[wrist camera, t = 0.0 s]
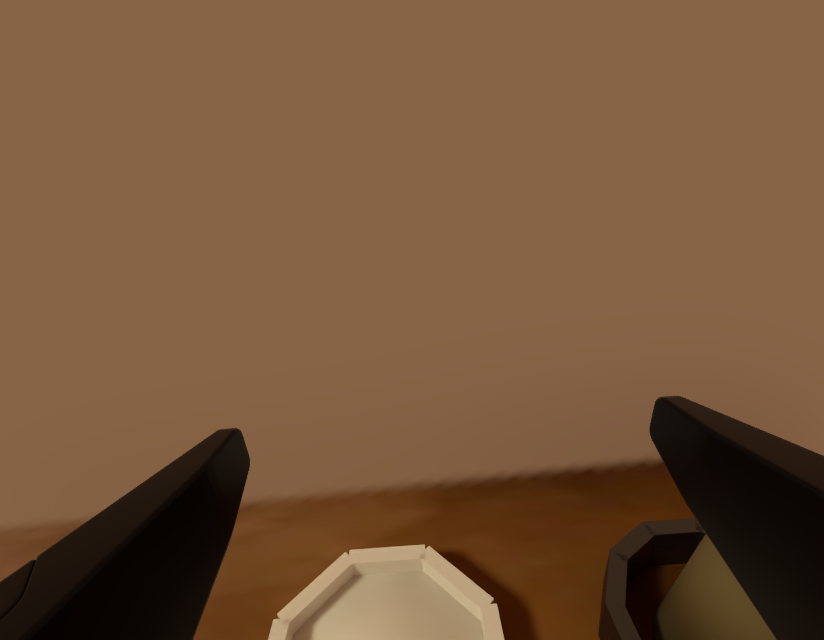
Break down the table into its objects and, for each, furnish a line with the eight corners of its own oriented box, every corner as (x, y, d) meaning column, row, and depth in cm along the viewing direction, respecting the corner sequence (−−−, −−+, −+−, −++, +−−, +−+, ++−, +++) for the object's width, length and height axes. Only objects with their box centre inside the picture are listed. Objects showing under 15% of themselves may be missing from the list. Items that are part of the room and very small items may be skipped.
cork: (705, 572, 21) (766, 406, 17) (857, 704, 16) (1004, 515, 12) (623, 626, 19) (667, 453, 15) (768, 798, 14) (904, 613, 10)
